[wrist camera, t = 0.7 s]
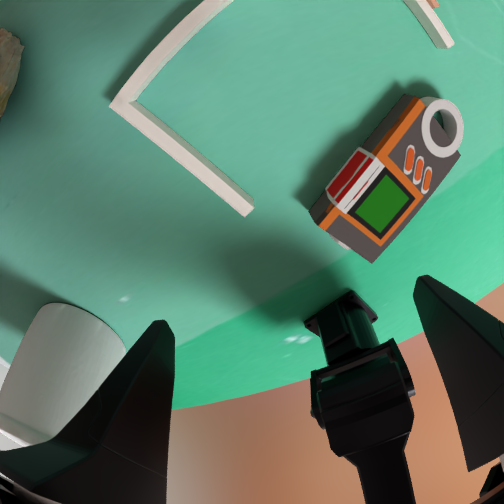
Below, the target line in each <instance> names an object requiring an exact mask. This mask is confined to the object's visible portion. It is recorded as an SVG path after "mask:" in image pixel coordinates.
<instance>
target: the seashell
mask: <svg viewBox="0 0 504 504" xmlns="http://www.w3.org/2000/svg"><path fill="white" fill-rule="evenodd" d="M24 47H25V46H23V45H21V44H20V39H19V38H16V36H12V33H11V32H7V30H6V29H4V28H1V29H0V118H1V116H2V115H3V113H4V111H5V108H6V106H7V101H8V98H9V97H10V95H11V93H12V91H13V89H14V87H15V84H16V82H17V78H18V73H19V70H20V60H21V53H22V51H23V50H24Z"/></svg>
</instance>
